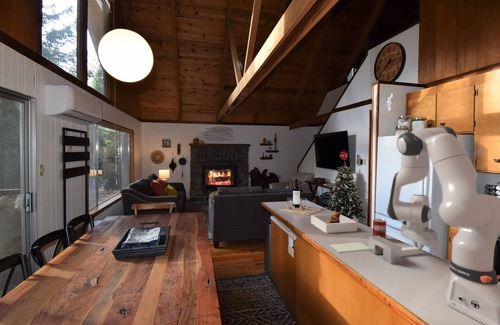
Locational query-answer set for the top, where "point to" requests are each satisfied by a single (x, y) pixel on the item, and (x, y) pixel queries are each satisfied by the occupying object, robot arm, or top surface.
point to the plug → (409, 251)
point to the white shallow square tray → (334, 224)
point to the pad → (349, 247)
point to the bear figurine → (334, 218)
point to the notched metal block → (385, 249)
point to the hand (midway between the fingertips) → (418, 250)
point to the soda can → (379, 228)
